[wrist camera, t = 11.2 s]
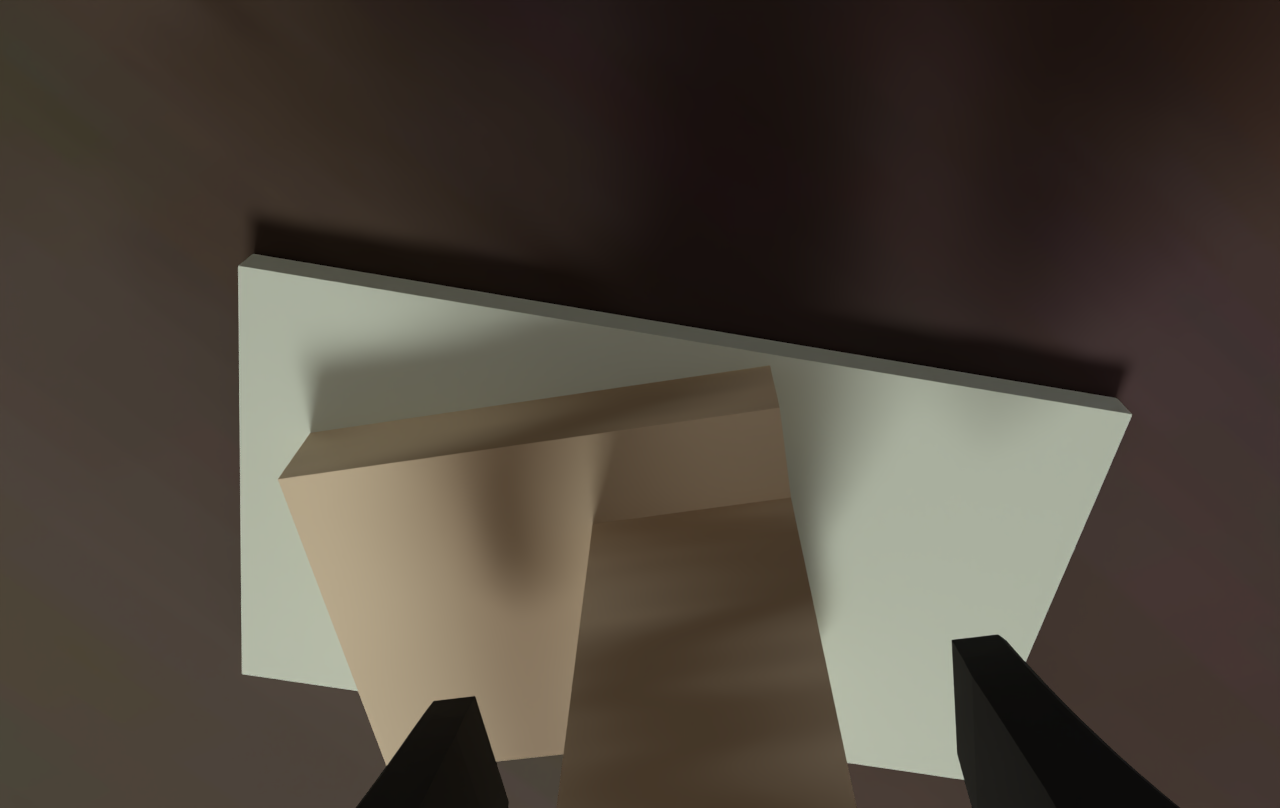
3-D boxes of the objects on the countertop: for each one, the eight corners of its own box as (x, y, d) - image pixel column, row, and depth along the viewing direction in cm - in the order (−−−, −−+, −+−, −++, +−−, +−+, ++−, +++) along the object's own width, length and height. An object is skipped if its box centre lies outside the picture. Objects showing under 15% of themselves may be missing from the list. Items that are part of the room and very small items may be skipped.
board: (1117, 397, 16) (1132, 414, 16) (965, 757, 20) (973, 781, 19) (253, 253, 16) (238, 265, 15) (254, 653, 19) (241, 673, 18)
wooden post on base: (769, 365, 16) (858, 750, 8) (808, 665, 18) (900, 1158, 11) (310, 432, 16) (25, 839, 9) (409, 711, 19) (248, 1202, 12)
